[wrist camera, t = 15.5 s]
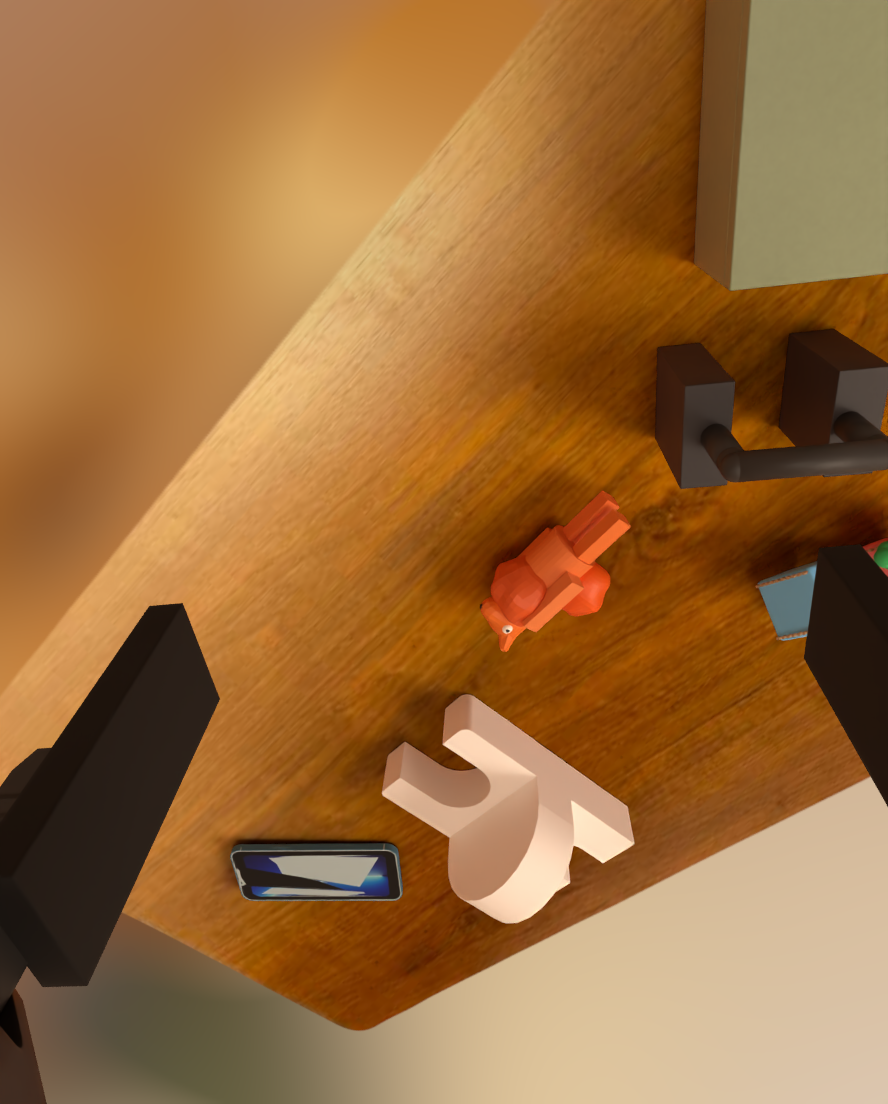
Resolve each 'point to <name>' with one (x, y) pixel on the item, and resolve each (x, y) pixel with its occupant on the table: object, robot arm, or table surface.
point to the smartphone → (318, 872)
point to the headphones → (806, 414)
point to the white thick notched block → (505, 811)
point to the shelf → (793, 142)
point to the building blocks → (802, 593)
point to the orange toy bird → (555, 573)
